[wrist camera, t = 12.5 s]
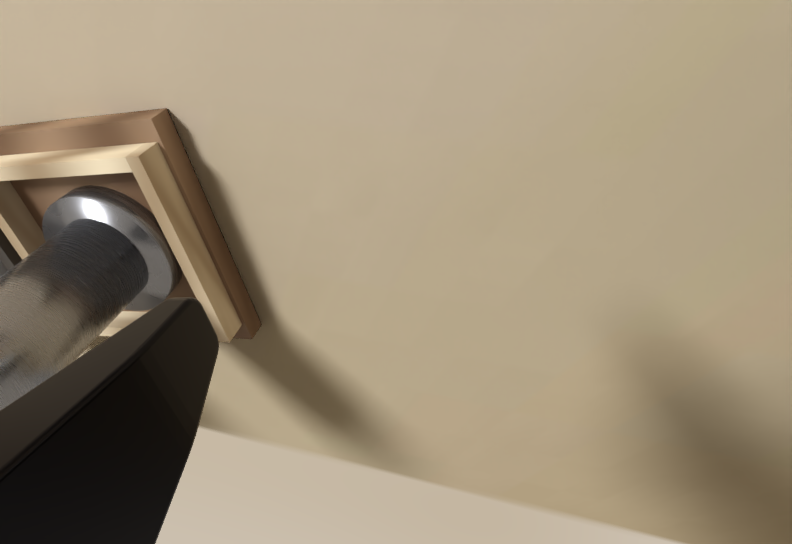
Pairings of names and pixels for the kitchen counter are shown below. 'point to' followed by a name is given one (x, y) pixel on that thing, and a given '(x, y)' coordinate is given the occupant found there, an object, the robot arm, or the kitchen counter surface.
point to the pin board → (135, 177)
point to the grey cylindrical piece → (79, 283)
